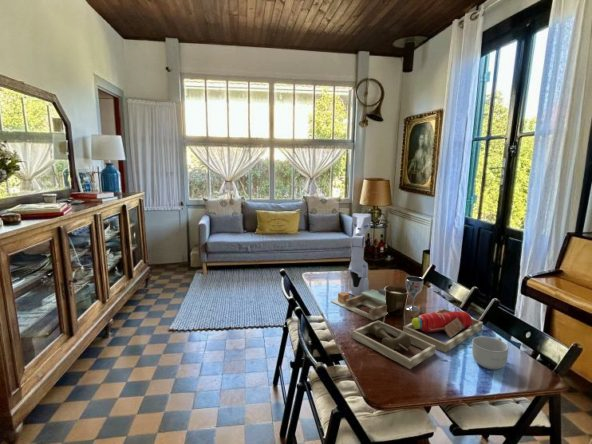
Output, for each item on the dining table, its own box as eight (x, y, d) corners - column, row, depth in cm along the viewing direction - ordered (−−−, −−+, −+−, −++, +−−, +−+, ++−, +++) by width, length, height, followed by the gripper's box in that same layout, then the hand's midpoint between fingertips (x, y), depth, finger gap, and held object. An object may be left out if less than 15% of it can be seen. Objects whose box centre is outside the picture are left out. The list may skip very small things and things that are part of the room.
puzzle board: (370, 297, 173) (370, 290, 173) (399, 309, 159) (400, 301, 159) (343, 307, 161) (344, 299, 161) (373, 320, 147) (373, 311, 147)
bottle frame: (441, 314, 155) (442, 307, 154) (482, 328, 141) (483, 322, 140) (402, 333, 136) (403, 326, 135) (445, 352, 122) (445, 345, 121)
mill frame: (377, 326, 142) (378, 320, 141) (435, 353, 121) (435, 345, 121) (352, 337, 132) (352, 330, 131) (409, 369, 112) (410, 360, 111)
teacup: (493, 377, 108) (496, 354, 107) (463, 360, 117) (465, 339, 116) (518, 365, 114) (520, 344, 113) (487, 350, 124) (490, 330, 122)
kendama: (382, 332, 138) (418, 355, 120) (363, 337, 134) (397, 362, 116) (382, 318, 137) (418, 339, 119) (363, 323, 133) (398, 346, 115)
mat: (344, 297, 174) (344, 296, 174) (356, 302, 167) (356, 301, 167) (330, 301, 168) (330, 300, 167) (342, 307, 161) (342, 306, 161)
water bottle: (482, 322, 132) (425, 326, 128) (477, 339, 135) (421, 343, 131) (463, 305, 143) (409, 308, 139) (459, 321, 146) (407, 324, 142)
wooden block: (343, 299, 170) (343, 291, 169) (349, 301, 167) (349, 293, 166) (337, 300, 168) (338, 293, 167) (343, 303, 165) (343, 295, 164)
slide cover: (372, 290, 172) (372, 285, 171) (397, 300, 160) (398, 294, 159) (361, 294, 166) (361, 289, 166) (387, 304, 154) (387, 298, 154)
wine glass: (403, 310, 159) (405, 280, 156) (404, 304, 166) (406, 275, 164) (420, 313, 156) (423, 282, 153) (421, 306, 163) (423, 277, 161)
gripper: (345, 256, 167) (344, 281, 169) (353, 264, 153) (351, 292, 155) (358, 255, 168) (357, 281, 170) (367, 263, 154) (366, 291, 156)
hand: (355, 286), depth 163 cm, fingers closed
